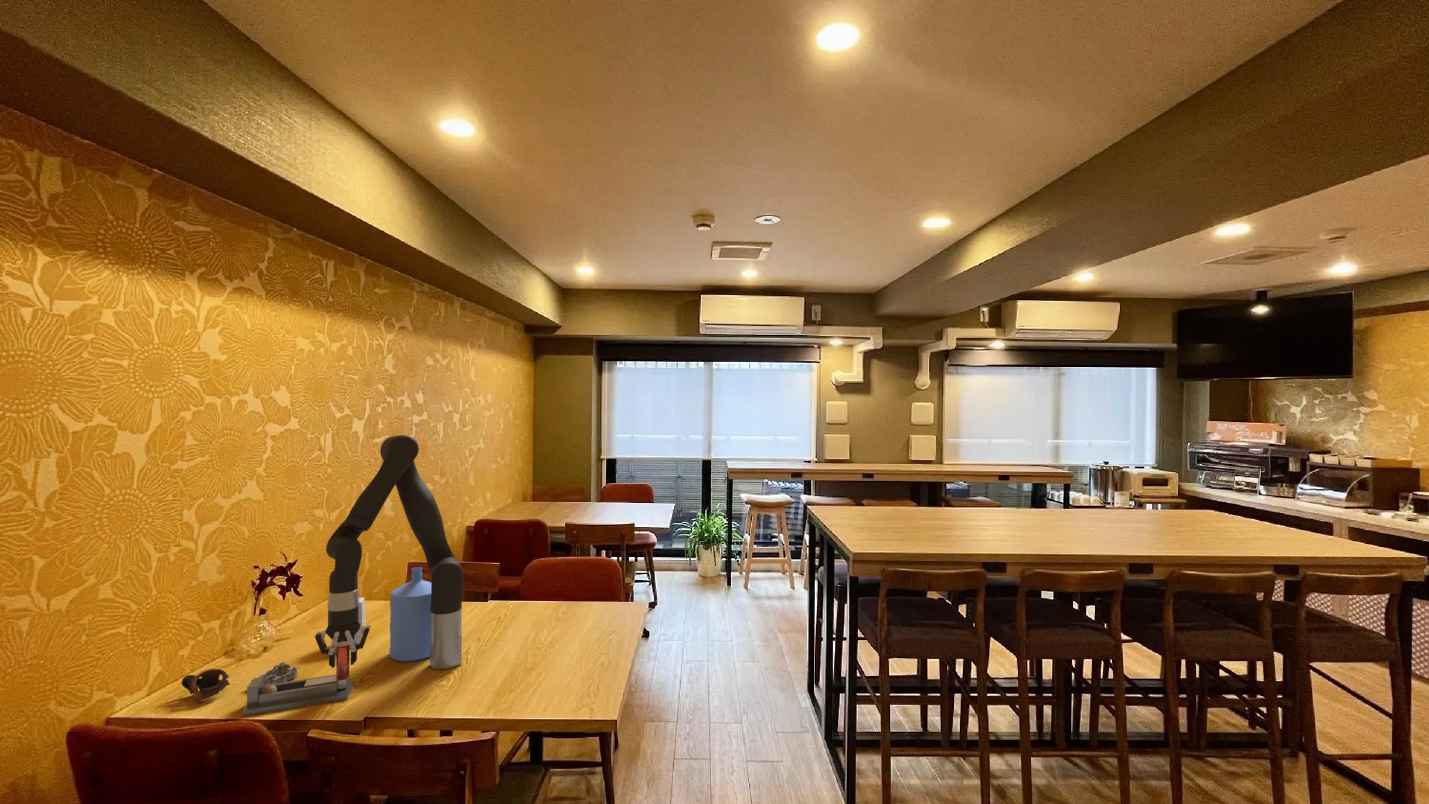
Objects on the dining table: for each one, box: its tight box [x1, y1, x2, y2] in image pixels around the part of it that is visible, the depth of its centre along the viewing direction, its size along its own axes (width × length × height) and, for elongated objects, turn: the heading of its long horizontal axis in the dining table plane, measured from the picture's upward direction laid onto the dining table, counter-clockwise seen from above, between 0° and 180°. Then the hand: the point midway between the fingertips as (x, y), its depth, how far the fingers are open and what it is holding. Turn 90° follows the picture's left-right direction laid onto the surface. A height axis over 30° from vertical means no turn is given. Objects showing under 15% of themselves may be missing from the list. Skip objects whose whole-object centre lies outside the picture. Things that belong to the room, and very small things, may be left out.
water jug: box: [389, 566, 431, 663], centre depth 201 cm, size 16×16×28 cm
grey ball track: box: [242, 674, 355, 717], centre depth 169 cm, size 24×11×6 cm, turn 114°
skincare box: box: [336, 597, 367, 647], centre depth 208 cm, size 8×6×15 cm
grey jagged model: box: [256, 661, 301, 687], centre depth 179 cm, size 11×8×4 cm
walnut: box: [261, 685, 277, 694], centre depth 166 cm, size 4×4×4 cm
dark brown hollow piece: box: [181, 668, 231, 704], centre depth 170 cm, size 12×10×8 cm
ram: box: [304, 644, 351, 689], centre depth 172 cm, size 11×4×11 cm, turn 114°
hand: (342, 664), depth 173 cm, fingers open, 4 cm apart
